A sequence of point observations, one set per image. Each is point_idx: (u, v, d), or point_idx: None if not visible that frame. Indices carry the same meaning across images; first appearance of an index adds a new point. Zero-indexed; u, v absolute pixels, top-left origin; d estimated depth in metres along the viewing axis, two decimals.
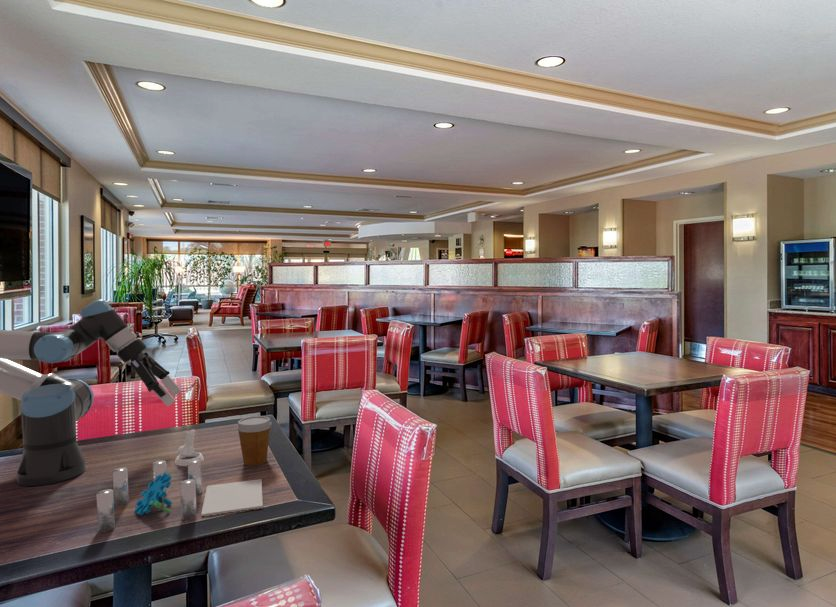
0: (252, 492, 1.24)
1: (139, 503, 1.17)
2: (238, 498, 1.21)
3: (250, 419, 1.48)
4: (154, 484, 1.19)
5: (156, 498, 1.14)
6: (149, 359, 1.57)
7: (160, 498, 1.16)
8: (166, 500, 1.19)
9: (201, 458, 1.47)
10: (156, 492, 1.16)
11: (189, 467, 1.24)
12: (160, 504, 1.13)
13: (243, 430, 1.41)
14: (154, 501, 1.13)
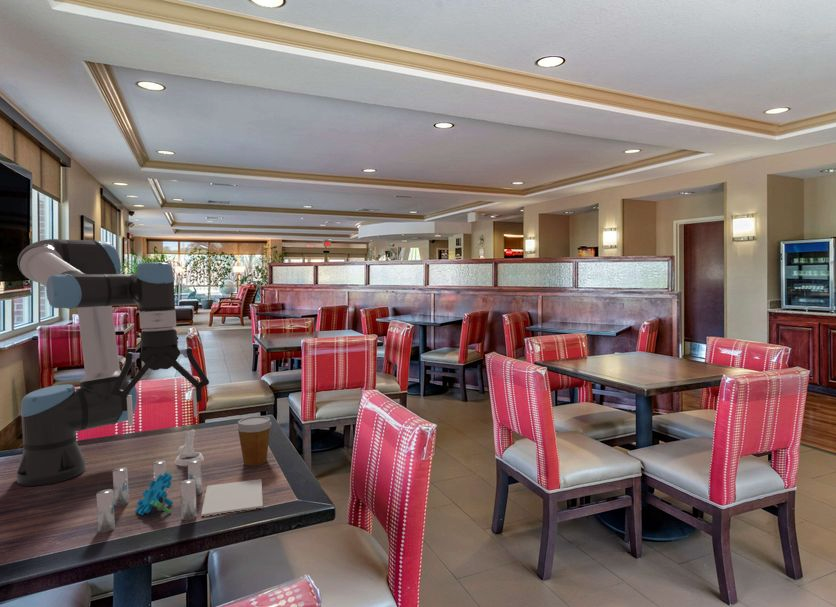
0: (252, 492, 1.24)
1: (140, 503, 1.17)
2: (238, 498, 1.21)
3: (250, 419, 1.48)
4: (155, 484, 1.19)
5: (157, 498, 1.14)
6: (166, 360, 1.19)
7: (161, 498, 1.16)
8: (167, 500, 1.19)
9: (201, 458, 1.47)
10: (157, 492, 1.16)
11: (189, 467, 1.24)
12: (160, 504, 1.13)
13: (243, 430, 1.41)
14: (154, 501, 1.13)
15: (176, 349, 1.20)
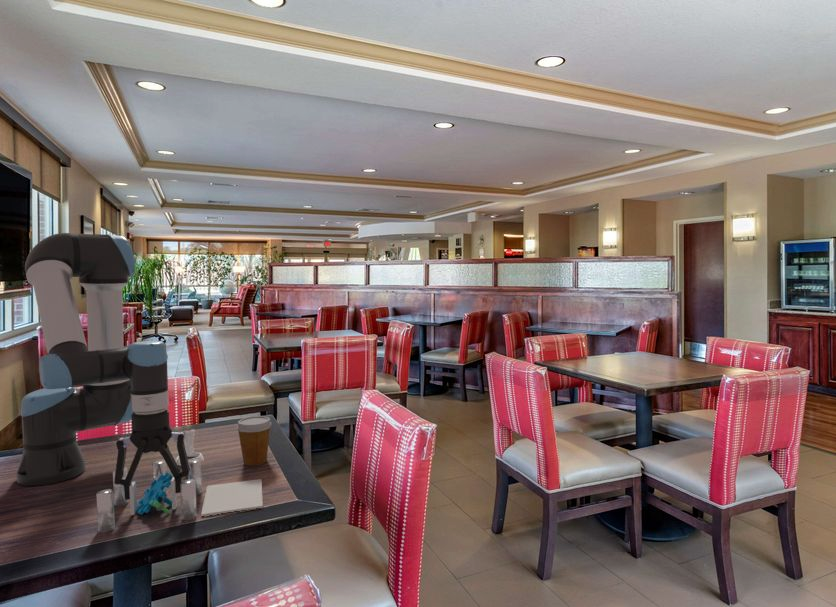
0: (252, 492, 1.24)
1: (141, 502, 1.18)
2: (238, 498, 1.21)
3: (250, 419, 1.48)
4: (156, 483, 1.19)
5: (156, 498, 1.14)
6: (155, 443, 1.14)
7: (161, 498, 1.16)
8: (167, 500, 1.18)
9: (201, 458, 1.47)
10: (156, 492, 1.16)
11: (189, 467, 1.24)
12: (159, 504, 1.12)
13: (243, 430, 1.41)
14: (153, 501, 1.13)
15: (167, 431, 1.16)
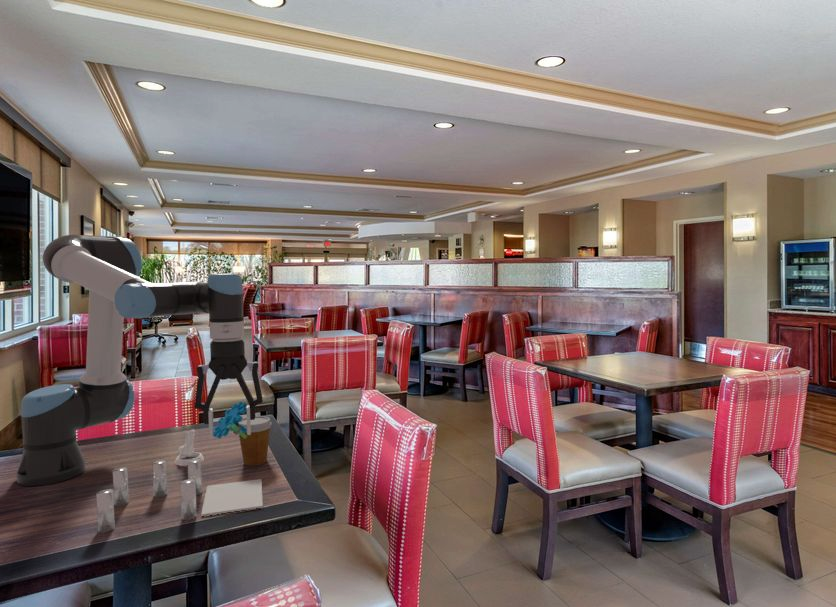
0: (252, 492, 1.24)
1: (217, 428, 1.23)
2: (238, 498, 1.21)
3: None
4: (230, 411, 1.24)
5: (233, 422, 1.19)
6: (232, 370, 1.20)
7: (236, 424, 1.21)
8: (242, 427, 1.23)
9: (201, 458, 1.47)
10: (233, 417, 1.21)
11: (189, 467, 1.24)
12: (237, 427, 1.17)
13: None
14: (231, 425, 1.18)
15: (243, 359, 1.21)
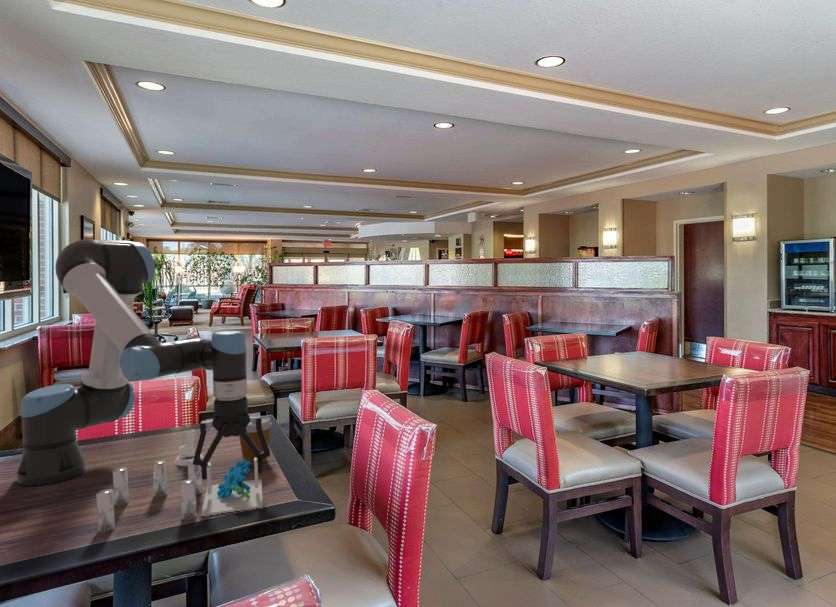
0: (252, 492, 1.24)
1: (221, 487, 1.24)
2: (238, 498, 1.21)
3: None
4: (234, 470, 1.25)
5: (237, 483, 1.20)
6: (236, 428, 1.21)
7: (240, 483, 1.23)
8: (245, 485, 1.25)
9: None
10: (236, 477, 1.22)
11: (189, 467, 1.24)
12: (240, 489, 1.19)
13: None
14: (235, 485, 1.19)
15: (246, 417, 1.22)
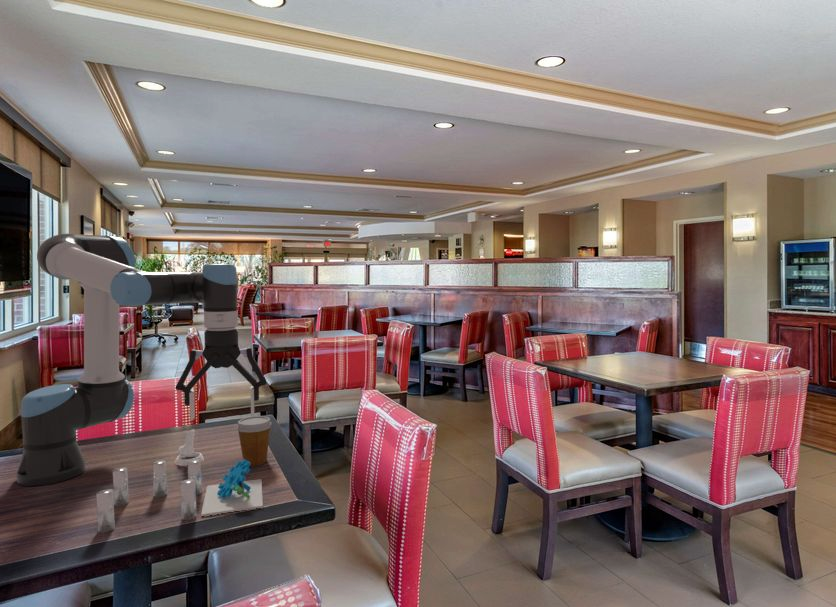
0: (252, 492, 1.24)
1: (221, 487, 1.24)
2: (238, 498, 1.21)
3: (250, 419, 1.48)
4: (235, 469, 1.25)
5: (237, 483, 1.20)
6: (227, 359, 1.22)
7: (240, 483, 1.23)
8: (245, 485, 1.25)
9: (201, 458, 1.47)
10: (237, 477, 1.22)
11: (189, 467, 1.24)
12: (241, 489, 1.19)
13: (243, 430, 1.41)
14: (235, 485, 1.19)
15: (237, 349, 1.23)
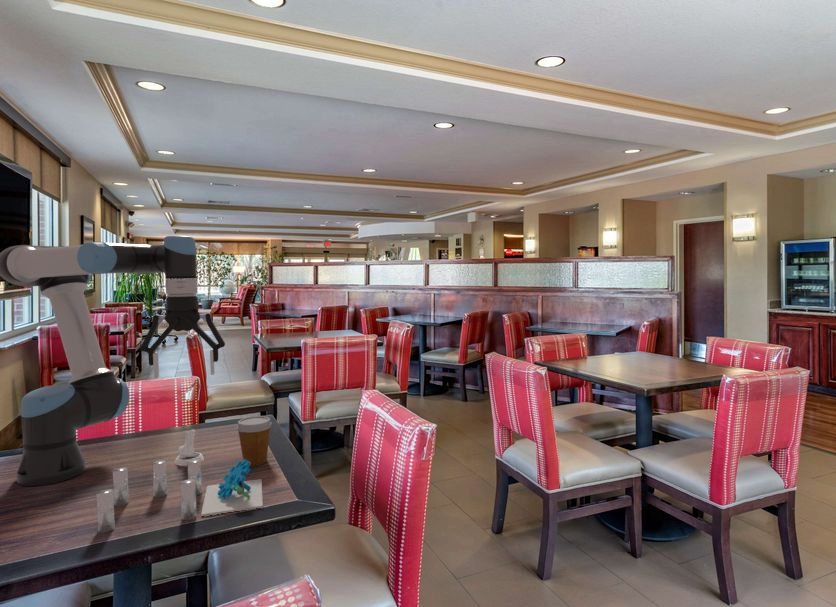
0: (252, 492, 1.24)
1: (221, 487, 1.24)
2: (238, 498, 1.21)
3: (250, 419, 1.48)
4: (235, 469, 1.25)
5: (237, 483, 1.20)
6: (187, 323, 1.34)
7: (240, 483, 1.23)
8: (246, 485, 1.25)
9: (201, 458, 1.47)
10: (237, 477, 1.22)
11: (189, 467, 1.24)
12: (241, 489, 1.19)
13: (243, 430, 1.41)
14: (235, 485, 1.19)
15: (196, 314, 1.35)
